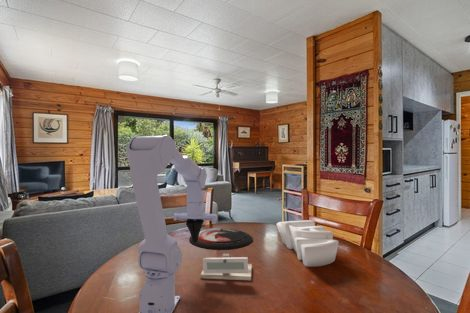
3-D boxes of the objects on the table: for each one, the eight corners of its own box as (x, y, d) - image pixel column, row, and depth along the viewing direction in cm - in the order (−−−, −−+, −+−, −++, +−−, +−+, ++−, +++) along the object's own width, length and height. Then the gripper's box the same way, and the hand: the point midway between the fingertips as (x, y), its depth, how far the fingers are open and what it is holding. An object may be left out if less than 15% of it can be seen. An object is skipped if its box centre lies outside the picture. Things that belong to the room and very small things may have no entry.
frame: (248, 274, 73) (247, 259, 73) (203, 274, 74) (202, 259, 74) (248, 271, 75) (247, 257, 75) (204, 271, 76) (203, 257, 76)
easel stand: (251, 280, 75) (250, 257, 75) (200, 278, 76) (200, 255, 76) (251, 267, 84) (251, 246, 84) (206, 265, 85) (206, 244, 85)
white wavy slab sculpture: (347, 271, 81) (347, 240, 81) (300, 273, 79) (300, 242, 79) (307, 237, 116) (307, 215, 116) (274, 238, 114) (274, 216, 114)
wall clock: (179, 252, 103) (248, 253, 97) (178, 242, 103) (247, 242, 97) (200, 233, 129) (256, 232, 123) (200, 224, 129) (255, 223, 123)
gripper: (218, 199, 85) (218, 238, 85) (178, 199, 86) (178, 236, 86) (214, 203, 78) (214, 245, 78) (171, 202, 79) (171, 243, 79)
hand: (195, 241), depth 82 cm, fingers closed
